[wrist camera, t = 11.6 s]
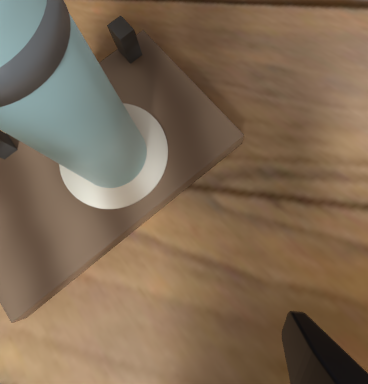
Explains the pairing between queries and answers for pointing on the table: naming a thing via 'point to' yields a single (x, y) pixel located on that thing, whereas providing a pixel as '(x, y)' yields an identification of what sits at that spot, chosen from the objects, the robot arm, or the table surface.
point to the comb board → (98, 196)
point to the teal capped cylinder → (63, 95)
